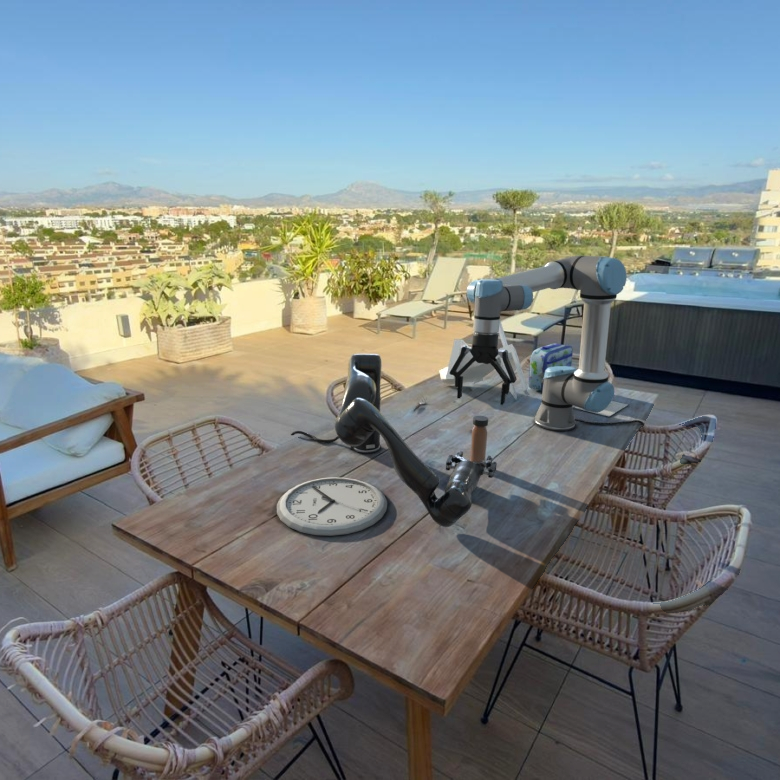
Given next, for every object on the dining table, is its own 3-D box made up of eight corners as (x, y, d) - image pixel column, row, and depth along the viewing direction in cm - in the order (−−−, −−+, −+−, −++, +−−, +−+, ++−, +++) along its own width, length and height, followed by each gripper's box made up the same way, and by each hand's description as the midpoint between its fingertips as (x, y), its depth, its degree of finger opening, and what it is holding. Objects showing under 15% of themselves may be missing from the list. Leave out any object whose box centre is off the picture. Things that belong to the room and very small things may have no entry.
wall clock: (392, 527, 129) (268, 531, 127) (391, 533, 130) (269, 537, 127) (383, 473, 158) (282, 475, 155) (383, 478, 158) (282, 480, 156)
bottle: (484, 463, 170) (487, 417, 165) (485, 470, 165) (488, 422, 160) (469, 462, 170) (472, 416, 165) (469, 469, 166) (473, 421, 161)
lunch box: (544, 395, 239) (549, 351, 233) (524, 390, 247) (528, 347, 240) (571, 384, 257) (577, 343, 251) (552, 380, 264) (556, 339, 258)
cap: (487, 421, 165) (487, 416, 165) (488, 427, 161) (488, 421, 160) (472, 420, 166) (472, 415, 165) (473, 426, 161) (473, 420, 161)
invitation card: (608, 416, 214) (573, 407, 224) (608, 416, 214) (573, 408, 224) (628, 404, 229) (594, 396, 238) (628, 405, 229) (594, 397, 238)
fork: (410, 411, 216) (410, 407, 215) (421, 400, 230) (421, 396, 229) (416, 412, 215) (416, 408, 214) (427, 401, 229) (427, 396, 228)
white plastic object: (461, 429, 252) (437, 405, 227) (444, 352, 274) (420, 323, 250) (535, 404, 240) (518, 377, 215) (510, 326, 262) (492, 293, 237)
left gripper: (438, 486, 149) (451, 463, 163) (488, 495, 144) (497, 471, 159) (440, 462, 146) (453, 441, 161) (491, 471, 142) (500, 448, 156)
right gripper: (530, 334, 154) (523, 402, 160) (449, 326, 163) (445, 391, 169) (526, 339, 147) (519, 410, 153) (441, 330, 157) (438, 398, 163)
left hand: (475, 456), depth 160 cm, fingers open, 8 cm apart
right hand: (480, 400), depth 161 cm, fingers open, 13 cm apart
